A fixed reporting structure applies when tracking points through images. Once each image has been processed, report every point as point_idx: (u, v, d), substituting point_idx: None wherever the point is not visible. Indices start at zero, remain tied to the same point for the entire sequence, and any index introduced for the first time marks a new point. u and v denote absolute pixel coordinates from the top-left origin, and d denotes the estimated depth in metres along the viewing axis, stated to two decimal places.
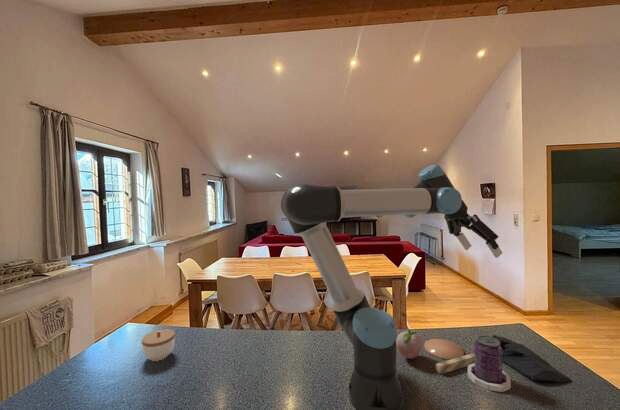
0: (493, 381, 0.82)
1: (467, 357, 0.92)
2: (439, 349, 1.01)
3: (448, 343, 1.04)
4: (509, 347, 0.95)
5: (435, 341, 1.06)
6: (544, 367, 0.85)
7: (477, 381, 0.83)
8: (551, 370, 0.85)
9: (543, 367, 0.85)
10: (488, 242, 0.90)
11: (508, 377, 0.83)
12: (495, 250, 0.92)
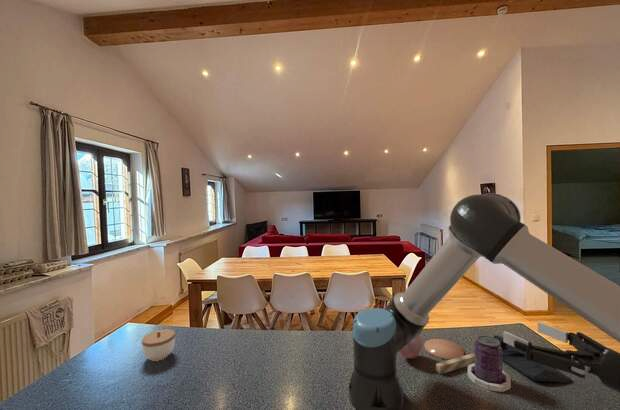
0: (493, 381, 0.82)
1: (467, 357, 0.92)
2: (439, 349, 1.01)
3: (448, 343, 1.04)
4: (510, 347, 0.95)
5: (435, 341, 1.06)
6: (545, 367, 0.85)
7: (477, 381, 0.83)
8: (552, 370, 0.84)
9: (544, 367, 0.85)
10: (529, 344, 0.66)
11: (508, 377, 0.83)
12: (512, 339, 0.71)
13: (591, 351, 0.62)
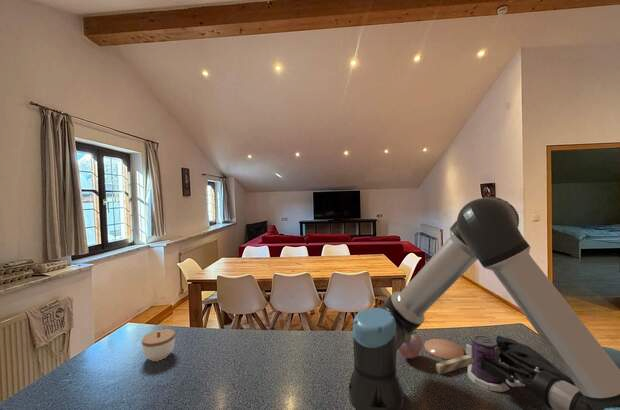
0: (489, 381, 0.82)
1: (467, 357, 0.92)
2: (439, 349, 1.01)
3: (448, 343, 1.04)
4: (513, 348, 0.95)
5: (435, 341, 1.06)
6: (547, 368, 0.85)
7: (477, 381, 0.83)
8: (555, 371, 0.84)
9: (546, 368, 0.85)
10: (483, 355, 0.82)
11: None
12: None
13: (529, 370, 0.75)
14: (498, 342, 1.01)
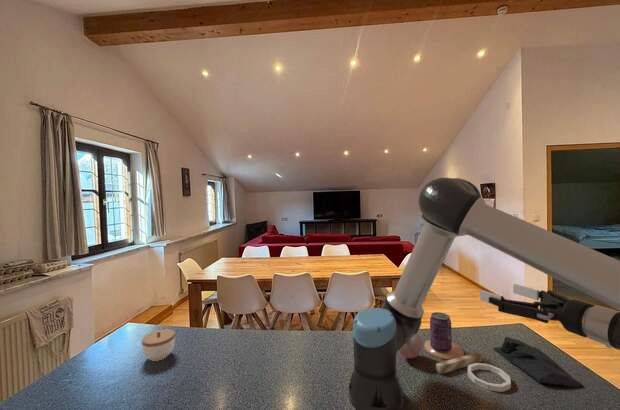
0: (443, 349, 0.98)
1: (467, 357, 0.92)
2: None
3: None
4: (520, 349, 0.94)
5: None
6: (554, 371, 0.83)
7: (477, 381, 0.83)
8: (561, 374, 0.83)
9: (552, 370, 0.83)
10: (501, 298, 0.72)
11: (508, 377, 0.83)
12: (488, 296, 0.77)
13: (556, 302, 0.69)
14: (506, 343, 1.00)
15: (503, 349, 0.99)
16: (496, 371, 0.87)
